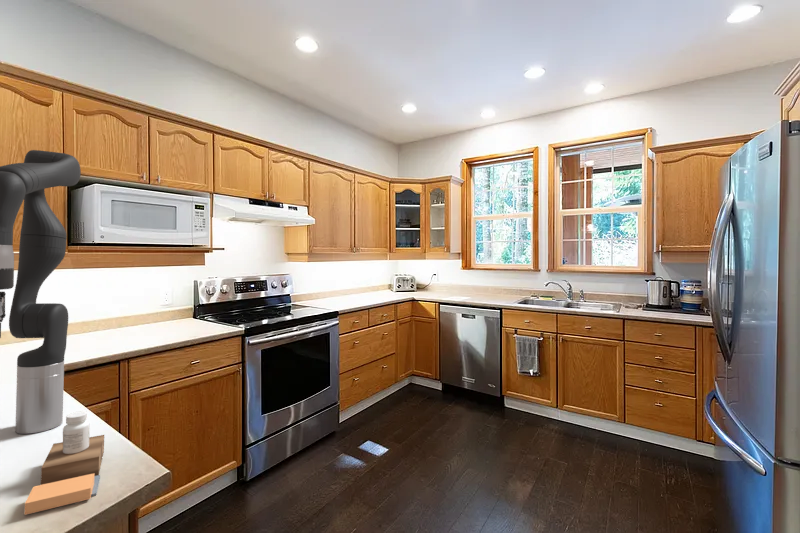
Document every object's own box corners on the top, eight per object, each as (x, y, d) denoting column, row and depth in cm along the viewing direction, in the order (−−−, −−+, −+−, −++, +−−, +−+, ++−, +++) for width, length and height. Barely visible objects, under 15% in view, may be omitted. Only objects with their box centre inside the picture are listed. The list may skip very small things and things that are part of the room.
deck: (53, 461, 85) (53, 443, 85) (103, 451, 90) (104, 434, 90) (40, 488, 75) (41, 468, 75) (98, 475, 80) (99, 456, 80)
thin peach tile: (24, 503, 66) (24, 515, 66) (90, 488, 71) (90, 498, 71) (33, 486, 71) (33, 497, 71) (94, 473, 76) (94, 483, 76)
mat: (48, 488, 75) (48, 486, 75) (100, 476, 79) (100, 474, 79) (39, 509, 69) (39, 506, 69) (96, 495, 73) (96, 493, 73)
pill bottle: (74, 444, 85) (75, 409, 84) (94, 444, 85) (94, 410, 84) (56, 454, 80) (57, 418, 80) (77, 455, 80) (78, 418, 80)
